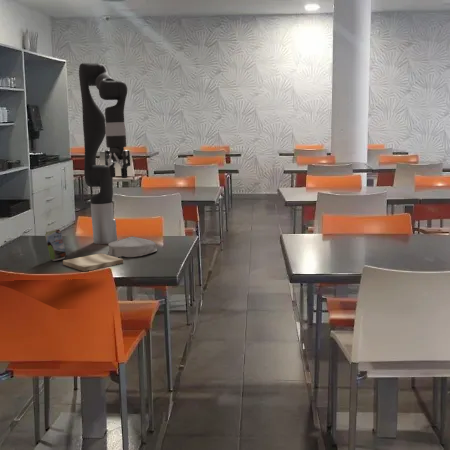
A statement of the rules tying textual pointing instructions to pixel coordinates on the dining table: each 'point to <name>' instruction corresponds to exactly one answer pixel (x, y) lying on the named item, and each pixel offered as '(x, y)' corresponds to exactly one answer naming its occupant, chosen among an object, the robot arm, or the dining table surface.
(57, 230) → the beverage can
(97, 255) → the coaster board
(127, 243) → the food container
